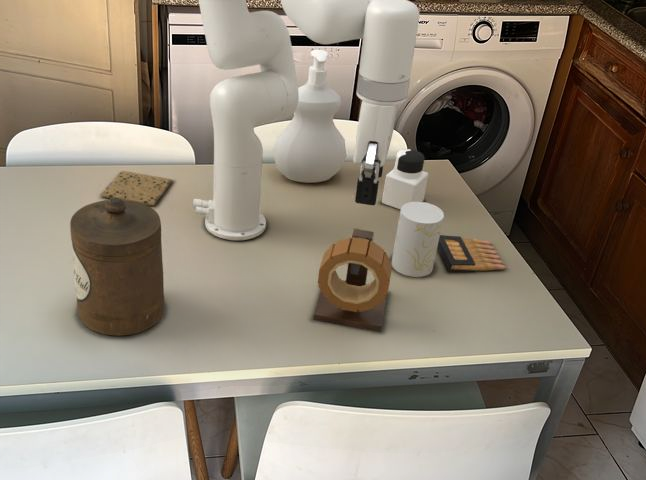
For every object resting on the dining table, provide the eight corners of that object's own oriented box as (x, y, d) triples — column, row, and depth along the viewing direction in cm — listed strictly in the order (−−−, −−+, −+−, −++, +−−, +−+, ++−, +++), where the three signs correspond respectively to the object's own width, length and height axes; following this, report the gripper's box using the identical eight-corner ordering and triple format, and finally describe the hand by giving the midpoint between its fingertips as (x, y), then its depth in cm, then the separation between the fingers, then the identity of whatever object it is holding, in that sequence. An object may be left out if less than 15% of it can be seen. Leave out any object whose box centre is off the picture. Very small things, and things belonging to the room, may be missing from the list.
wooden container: (88, 282, 148) (79, 175, 136) (169, 288, 148) (168, 181, 136) (68, 333, 136) (56, 220, 124) (157, 339, 136) (154, 227, 124)
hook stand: (312, 323, 143) (319, 261, 135) (323, 282, 153) (331, 223, 146) (380, 335, 141) (391, 273, 134) (387, 293, 152) (397, 233, 144)
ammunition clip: (448, 271, 159) (507, 273, 160) (451, 263, 158) (509, 266, 159) (434, 242, 167) (489, 244, 169) (436, 234, 166) (492, 237, 168)
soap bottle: (275, 188, 182) (284, 61, 165) (268, 165, 191) (276, 42, 175) (348, 188, 185) (364, 62, 168) (337, 164, 194) (352, 43, 177)
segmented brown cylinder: (315, 304, 142) (321, 247, 135) (319, 289, 146) (326, 232, 139) (383, 316, 140) (393, 258, 133) (386, 301, 144) (396, 243, 137)
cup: (407, 280, 156) (418, 227, 149) (383, 259, 161) (392, 206, 154) (441, 271, 159) (452, 218, 152) (416, 250, 165) (426, 198, 158)
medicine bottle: (423, 201, 182) (433, 152, 175) (410, 213, 177) (419, 164, 170) (395, 191, 185) (403, 143, 178) (381, 203, 180) (388, 154, 173)
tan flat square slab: (173, 181, 182) (173, 177, 181) (154, 206, 172) (154, 202, 171) (122, 172, 184) (122, 168, 183) (101, 197, 174) (100, 193, 173)
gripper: (364, 64, 128) (352, 162, 138) (350, 104, 114) (337, 211, 123) (412, 70, 127) (396, 169, 137) (403, 111, 113) (387, 218, 122)
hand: (368, 189), depth 130 cm, fingers open, 9 cm apart
